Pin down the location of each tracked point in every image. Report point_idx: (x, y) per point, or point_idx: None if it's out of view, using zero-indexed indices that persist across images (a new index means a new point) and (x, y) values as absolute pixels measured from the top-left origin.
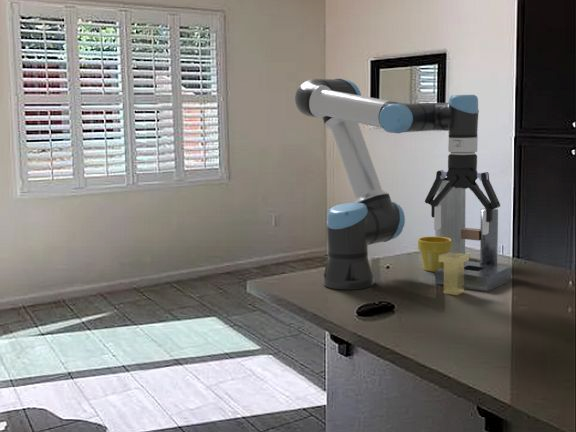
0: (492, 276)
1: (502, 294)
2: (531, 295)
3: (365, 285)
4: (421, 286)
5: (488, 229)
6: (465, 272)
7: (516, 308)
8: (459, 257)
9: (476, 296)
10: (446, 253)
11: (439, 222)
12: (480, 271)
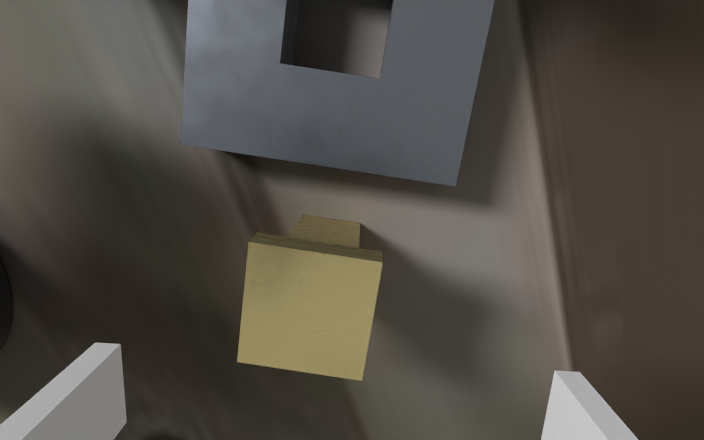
0: (466, 127)
1: (509, 193)
2: (622, 160)
3: (2, 329)
4: (177, 208)
5: (597, 397)
6: (331, 129)
7: (586, 350)
8: (357, 359)
9: (422, 261)
10: (250, 286)
11: (84, 413)
12: (393, 76)
